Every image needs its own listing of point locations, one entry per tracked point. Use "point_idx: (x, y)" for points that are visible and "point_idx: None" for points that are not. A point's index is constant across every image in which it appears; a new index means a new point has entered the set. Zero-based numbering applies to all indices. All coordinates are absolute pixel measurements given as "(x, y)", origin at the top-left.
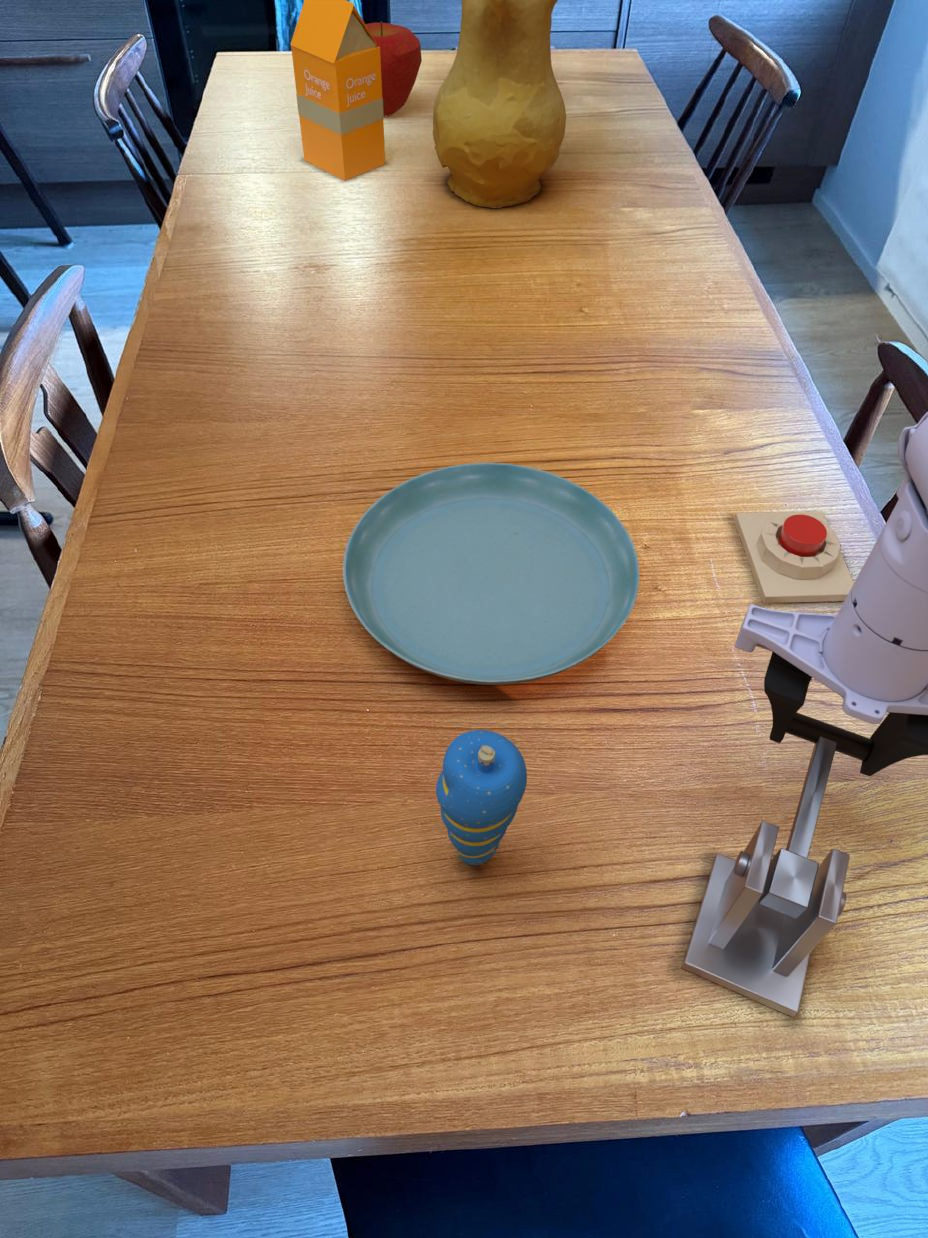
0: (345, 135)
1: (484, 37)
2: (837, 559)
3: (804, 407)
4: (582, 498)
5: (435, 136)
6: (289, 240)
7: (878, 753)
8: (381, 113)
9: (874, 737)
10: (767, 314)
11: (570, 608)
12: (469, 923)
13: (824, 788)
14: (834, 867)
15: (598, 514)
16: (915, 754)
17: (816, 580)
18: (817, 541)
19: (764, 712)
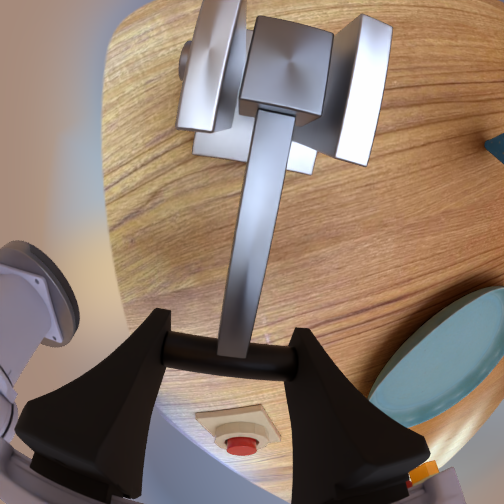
0: (427, 475)
1: None
2: (213, 432)
3: (240, 471)
4: None
5: None
6: (453, 440)
7: (149, 358)
8: (413, 485)
9: (162, 369)
10: (260, 487)
11: (406, 365)
12: (481, 95)
13: (230, 272)
14: (209, 87)
15: None
16: (79, 383)
17: (225, 422)
18: (232, 447)
19: (257, 335)
